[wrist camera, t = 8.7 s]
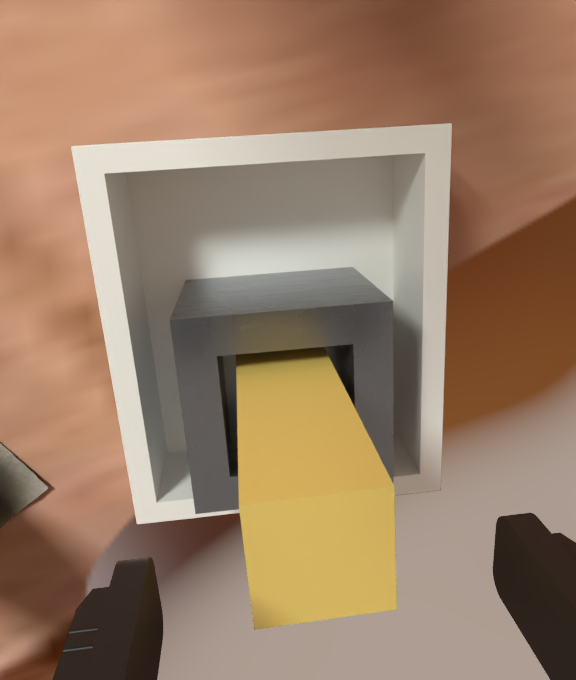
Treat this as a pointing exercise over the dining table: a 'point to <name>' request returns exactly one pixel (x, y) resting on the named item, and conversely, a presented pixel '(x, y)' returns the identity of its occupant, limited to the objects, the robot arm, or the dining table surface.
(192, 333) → the socket
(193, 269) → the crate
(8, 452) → the condiment
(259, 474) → the plug
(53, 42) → the dining table surface
